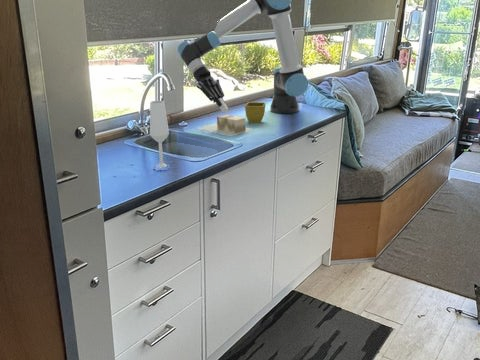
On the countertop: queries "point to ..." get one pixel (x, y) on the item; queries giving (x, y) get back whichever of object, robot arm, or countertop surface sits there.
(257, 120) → the flower pot
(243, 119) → the maple block
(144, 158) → the countertop surface
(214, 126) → the mat
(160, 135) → the champagne flute
